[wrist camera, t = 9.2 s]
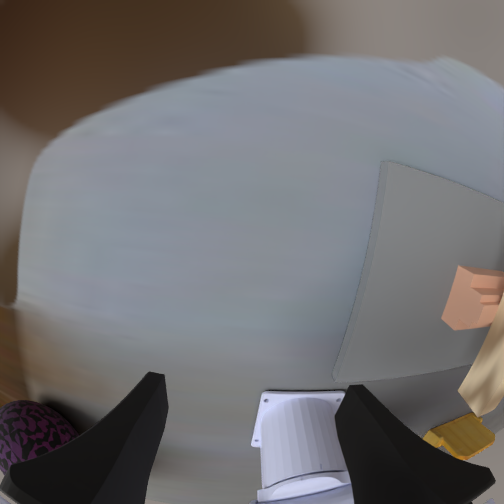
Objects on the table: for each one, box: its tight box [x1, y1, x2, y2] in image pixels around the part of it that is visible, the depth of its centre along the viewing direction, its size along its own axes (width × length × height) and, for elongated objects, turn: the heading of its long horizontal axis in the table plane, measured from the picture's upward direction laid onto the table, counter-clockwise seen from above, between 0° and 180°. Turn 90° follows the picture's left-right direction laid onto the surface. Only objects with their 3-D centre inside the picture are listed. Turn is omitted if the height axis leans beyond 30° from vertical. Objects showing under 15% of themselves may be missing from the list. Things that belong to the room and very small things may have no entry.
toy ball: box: [0, 400, 79, 475], centre depth 18 cm, size 15×15×15 cm
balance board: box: [332, 161, 504, 383], centre depth 17 cm, size 18×20×6 cm
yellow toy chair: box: [423, 412, 495, 460], centre depth 23 cm, size 10×10×9 cm
